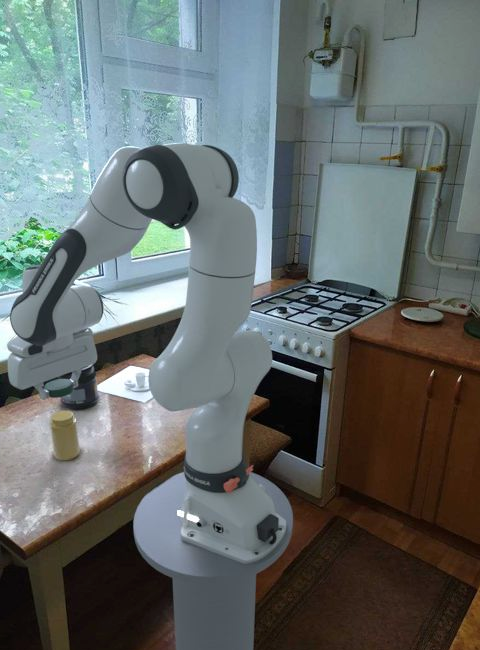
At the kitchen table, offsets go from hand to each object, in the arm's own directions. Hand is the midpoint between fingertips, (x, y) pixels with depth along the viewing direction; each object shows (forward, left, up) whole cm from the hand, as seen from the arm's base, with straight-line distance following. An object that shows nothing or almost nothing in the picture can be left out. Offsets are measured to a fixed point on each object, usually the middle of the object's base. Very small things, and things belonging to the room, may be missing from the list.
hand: (59, 392), depth 114 cm
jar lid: (0, 0, +2) cm, 2 cm away
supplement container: (+20, -18, -17) cm, 32 cm away
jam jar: (0, 0, -17) cm, 17 cm away
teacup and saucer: (+17, -37, -17) cm, 44 cm away
